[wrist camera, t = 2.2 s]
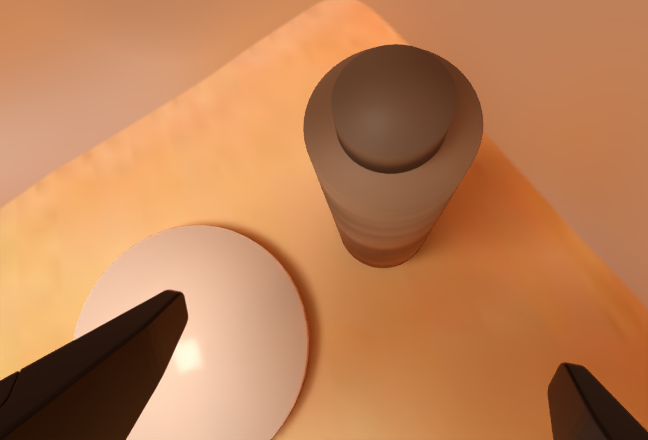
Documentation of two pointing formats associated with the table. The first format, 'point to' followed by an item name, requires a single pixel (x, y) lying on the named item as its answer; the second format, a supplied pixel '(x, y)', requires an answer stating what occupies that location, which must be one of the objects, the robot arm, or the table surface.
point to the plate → (213, 333)
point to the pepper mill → (391, 147)
